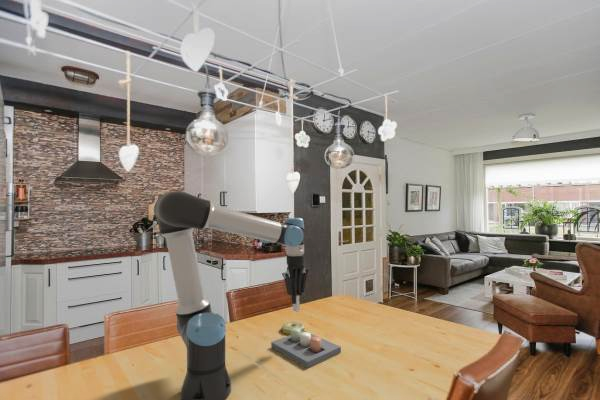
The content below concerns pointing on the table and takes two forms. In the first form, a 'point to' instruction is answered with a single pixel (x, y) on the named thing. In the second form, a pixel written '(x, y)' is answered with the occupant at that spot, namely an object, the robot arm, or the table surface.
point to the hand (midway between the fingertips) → (296, 310)
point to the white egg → (305, 339)
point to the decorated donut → (289, 325)
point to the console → (305, 351)
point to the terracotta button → (315, 344)
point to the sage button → (295, 334)
